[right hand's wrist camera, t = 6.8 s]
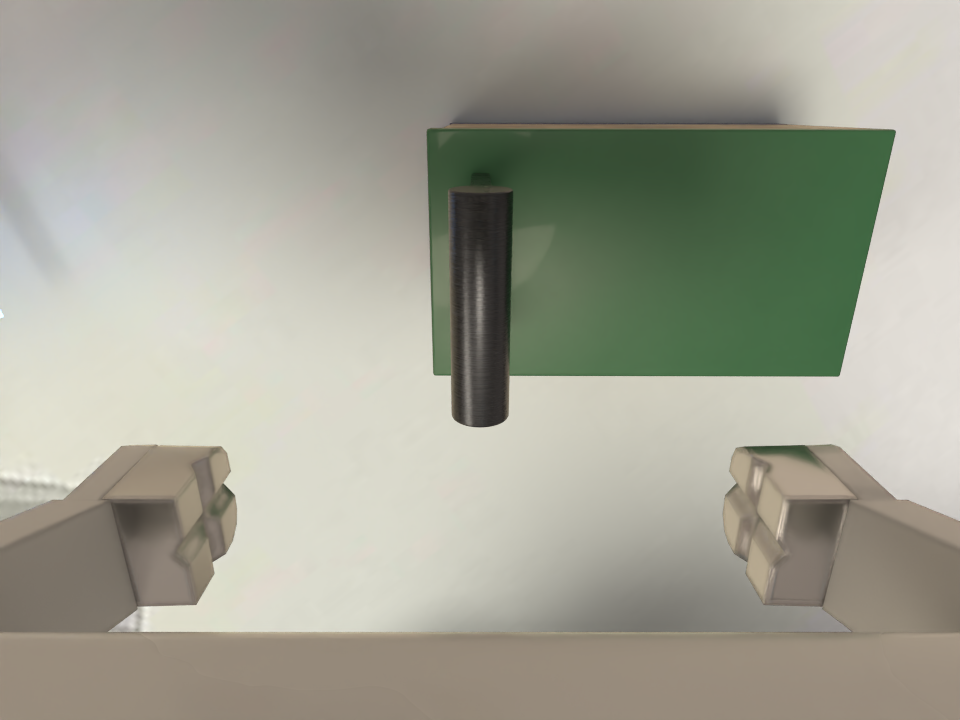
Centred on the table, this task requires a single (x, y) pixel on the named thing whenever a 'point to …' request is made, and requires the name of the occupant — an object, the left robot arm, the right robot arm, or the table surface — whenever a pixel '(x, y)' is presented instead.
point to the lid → (644, 252)
